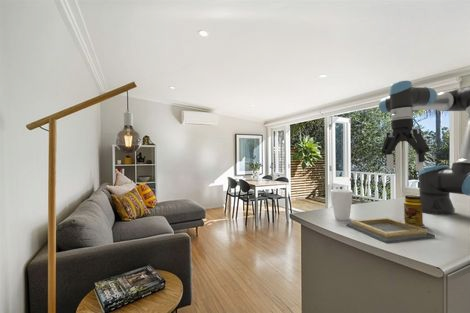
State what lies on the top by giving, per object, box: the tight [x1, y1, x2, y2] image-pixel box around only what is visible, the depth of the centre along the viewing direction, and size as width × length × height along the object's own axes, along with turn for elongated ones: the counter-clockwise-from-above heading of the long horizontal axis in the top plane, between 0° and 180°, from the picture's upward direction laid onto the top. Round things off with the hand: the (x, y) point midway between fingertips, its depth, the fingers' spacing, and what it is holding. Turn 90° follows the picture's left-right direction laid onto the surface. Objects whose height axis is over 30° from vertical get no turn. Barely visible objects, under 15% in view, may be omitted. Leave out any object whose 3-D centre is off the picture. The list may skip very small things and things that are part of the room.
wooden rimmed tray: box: [345, 217, 436, 244], centre depth 89 cm, size 20×20×2 cm
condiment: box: [401, 194, 427, 228], centre depth 98 cm, size 7×8×12 cm
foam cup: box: [330, 188, 354, 221], centre depth 109 cm, size 10×9×13 cm
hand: (404, 169), depth 97 cm, fingers open, 13 cm apart
